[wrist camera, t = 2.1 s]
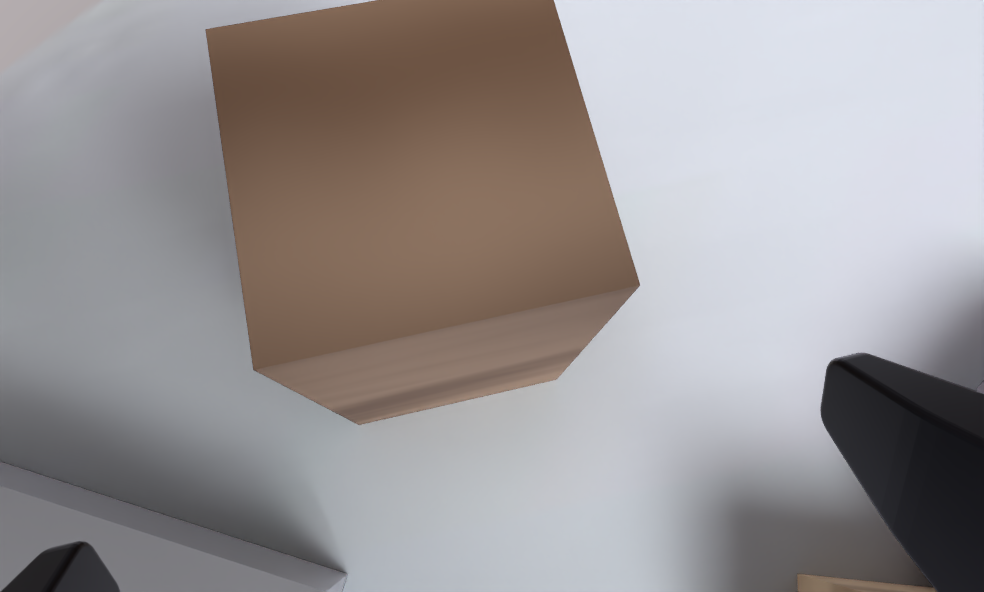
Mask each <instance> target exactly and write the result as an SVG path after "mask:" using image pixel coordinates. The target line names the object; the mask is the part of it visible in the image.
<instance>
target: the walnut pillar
mask: <svg viewBox="0 0 984 592" xmlns="http://www.w3.org/2000/svg"><path fill="white" fill-rule="evenodd" d="M206 36H207V43H208V50H209V57H210V64H211V72H212V79H213V86H214V93H215V100H216V107H217V114H218V121H219V128H220V136H221V143H222V150H223V157H224V164H225V171H226V178H227V185H228V192H229V199H230V207H231V214H232V221H233V228H234V235H235V242H236V249H237V256H238V263H239V271H240V278H241V285H242V292H243V299H244V306H245V313H246V320H247V327H248V335H249V342H250V349H251V356H252V363H253V370H255V371H257V372H259V373H260V374H262V375H264V376H266V377H268V378H270V379H272V380H274V381H276V382H278V383H280V384H282V385H283V386H285V387H287V388H289V389H291V390H293V391H295V392H297V393H299V394H301V395H303V396H305V397H306V398H308V399H310V400H312V401H314V402H316V403H318V404H320V405H322V406H324V407H326V408H327V409H329V410H331V411H333V412H335V413H337V414H339V415H341V416H343V417H345V418H347V419H349V420H350V421H352V422H354V423H356V424H358V425H361V424H365V423H370V422H374V421H378V420H383V419H387V418H391V417H396V416H400V415H404V414H409V413H413V412H418V411H422V410H426V409H431V408H435V407H439V406H444V405H448V404H452V403H457V402H461V401H465V400H470V399H474V398H478V397H483V396H487V395H491V394H496V393H500V392H504V391H509V390H513V389H517V388H522V387H526V386H531V385H535V384H539V383H544V382H548V381H552V380H556V379H557V378H558V377H559V376H560V375H561V374H562V373H563V372H564V370H565V369H566V368H567V367H568V366H569V365H570V364H571V363H572V361H573V360H574V359H575V358H576V357H577V356H578V355H579V354H580V352H581V351H582V350H583V349H584V348H585V347H586V346H587V345H588V343H589V342H590V341H591V340H592V339H593V338H594V337H595V336H596V334H597V333H598V332H599V331H600V330H601V329H602V328H603V327H604V325H605V324H606V323H607V322H608V321H609V320H610V319H611V318H612V316H613V315H614V314H615V313H616V312H617V311H618V310H619V309H620V307H621V306H622V305H623V304H624V303H625V302H626V301H627V300H628V298H629V297H630V296H631V295H632V294H633V293H634V292H635V291H636V289H637V288H638V287H639V286H640V283H639V280H638V277H637V273H636V270H635V267H634V263H633V260H632V257H631V254H630V250H629V247H628V244H627V240H626V237H625V234H624V231H623V227H622V224H621V221H620V217H619V214H618V211H617V207H616V204H615V201H614V198H613V194H612V191H611V188H610V184H609V181H608V178H607V175H606V171H605V168H604V165H603V161H602V158H601V155H600V151H599V148H598V145H597V142H596V138H595V135H594V132H593V128H592V125H591V122H590V119H589V115H588V112H587V109H586V105H585V102H584V99H583V96H582V92H581V89H580V86H579V82H578V79H577V76H576V72H575V69H574V66H573V63H572V59H571V56H570V53H569V49H568V46H567V43H566V40H565V36H564V33H563V30H562V26H561V23H560V20H559V17H558V13H557V10H556V7H555V3H554V0H377V1H371V2H365V3H359V4H353V5H347V6H341V7H335V8H329V9H323V10H317V11H311V12H305V13H299V14H293V15H288V16H282V17H276V18H270V19H264V20H258V21H252V22H246V23H240V24H234V25H228V26H222V27H216V28H210V29H206Z"/></svg>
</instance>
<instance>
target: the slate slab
mask: <svg viewBox="0 0 984 592" xmlns="http://www.w3.org/2000/svg"><path fill="white" fill-rule="evenodd" d="M76 541H85V542H87V543H89V544H91V545H92V546H93V548H94V549H95V551H96V552H97V554H98V555H99V557H100V558H101V560H102V561H103V563H104V564H105V566H106V567H107V569H108V570H109V572H110V573H111V575H112V576H113V578H114V579H115V581H116V582H117V584H118V586H119V589H120V592H342V590H343V587H344V584H345V581H346V578H347V575H348V574H346V573H343V572H340V571H337V570H334V569H330V568H327V567H324V566H321V565H318V564H315V563H312V562H309V561H306V560H303V559H300V558H297V557H293V556H290V555H287V554H284V553H281V552H278V551H275V550H272V549H269V548H266V547H263V546H259V545H256V544H253V543H250V542H247V541H244V540H241V539H238V538H235V537H232V536H229V535H226V534H222V533H219V532H216V531H213V530H210V529H207V528H204V527H201V526H198V525H195V524H192V523H188V522H185V521H182V520H179V519H176V518H173V517H170V516H167V515H164V514H161V513H158V512H155V511H151V510H148V509H145V508H142V507H139V506H136V505H133V504H130V503H127V502H124V501H121V500H117V499H114V498H111V497H108V496H105V495H102V494H99V493H96V492H93V491H90V490H87V489H83V488H80V487H77V486H74V485H71V484H68V483H65V482H62V481H59V480H56V479H53V478H50V477H46V476H43V475H40V474H37V473H34V472H31V471H28V470H25V469H22V468H19V467H16V466H12V465H9V464H6V463H3V462H0V591H1V590H3V589H4V588H5V587H6V586H7V585H8V584H9V583H10V582H11V581H12V580H13V579H14V578H15V577H16V576H17V575H18V574H19V573H20V572H21V571H22V570H23V569H24V568H25V567H26V566H27V565H28V564H29V563H30V562H31V561H33V560H34V559H35V558H36V557H37V556H38V555H39V554H40V553H41V552H43V551H44V550H46V549H49V548H51V547H55V546H59V545H63V544H67V543H72V542H76Z"/></svg>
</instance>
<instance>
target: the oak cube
mask: <svg viewBox="0 0 984 592" xmlns="http://www.w3.org/2000/svg"><path fill="white" fill-rule="evenodd" d="M797 583H798V592H937V591H936V589H935V588H933V587H923V586H913V585H903V584H894V583H884V582H874V581H864V580H855V579H845V578H835V577H825V576H816V575H806V574H797Z"/></svg>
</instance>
